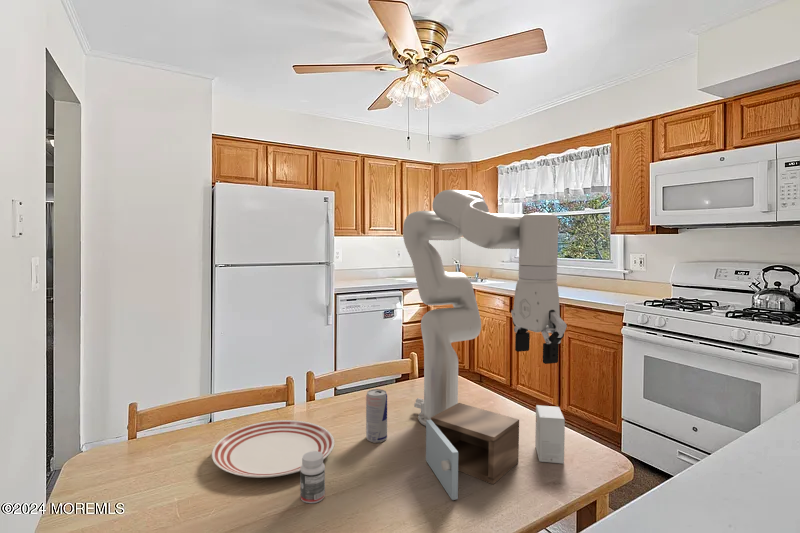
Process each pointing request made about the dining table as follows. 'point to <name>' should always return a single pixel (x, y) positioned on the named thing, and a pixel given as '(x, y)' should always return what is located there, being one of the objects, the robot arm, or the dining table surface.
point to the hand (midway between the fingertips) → (535, 356)
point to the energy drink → (376, 415)
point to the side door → (442, 459)
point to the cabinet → (481, 440)
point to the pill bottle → (312, 477)
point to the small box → (550, 434)
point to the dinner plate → (270, 448)
